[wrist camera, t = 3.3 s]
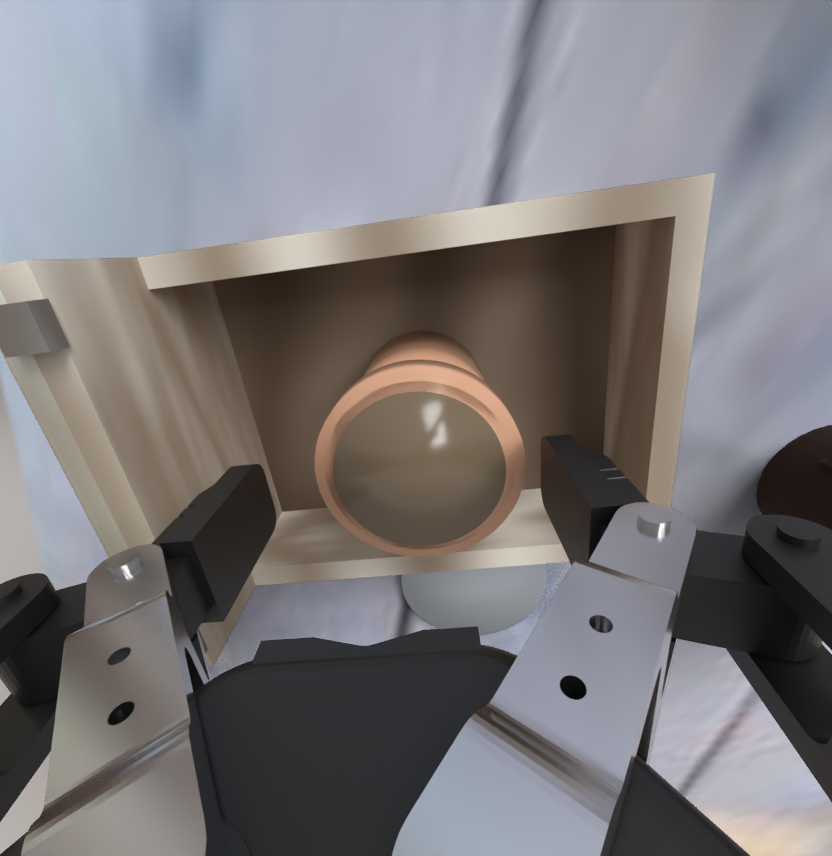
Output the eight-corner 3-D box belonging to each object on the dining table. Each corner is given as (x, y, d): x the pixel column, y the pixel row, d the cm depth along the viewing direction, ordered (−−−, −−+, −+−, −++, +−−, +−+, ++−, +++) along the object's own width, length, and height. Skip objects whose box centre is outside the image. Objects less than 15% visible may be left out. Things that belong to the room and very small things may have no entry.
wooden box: (636, 194, 17) (870, 129, 8) (615, 491, 22) (739, 651, 13) (173, 262, 18) (-70, 271, 9) (259, 523, 24) (157, 684, 15)
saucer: (543, 507, 23) (547, 515, 22) (544, 619, 26) (548, 630, 25) (392, 520, 23) (391, 529, 22) (411, 628, 26) (411, 639, 26)
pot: (485, 316, 18) (525, 359, 11) (492, 443, 20) (529, 553, 13) (346, 332, 19) (290, 385, 11) (369, 455, 21) (335, 568, 13)
